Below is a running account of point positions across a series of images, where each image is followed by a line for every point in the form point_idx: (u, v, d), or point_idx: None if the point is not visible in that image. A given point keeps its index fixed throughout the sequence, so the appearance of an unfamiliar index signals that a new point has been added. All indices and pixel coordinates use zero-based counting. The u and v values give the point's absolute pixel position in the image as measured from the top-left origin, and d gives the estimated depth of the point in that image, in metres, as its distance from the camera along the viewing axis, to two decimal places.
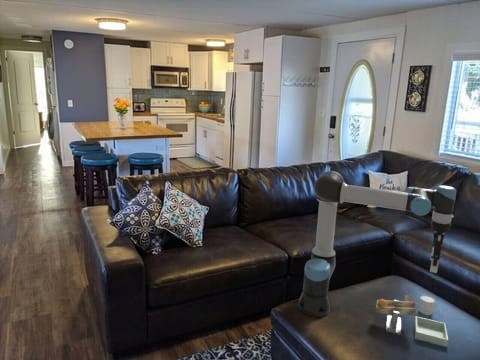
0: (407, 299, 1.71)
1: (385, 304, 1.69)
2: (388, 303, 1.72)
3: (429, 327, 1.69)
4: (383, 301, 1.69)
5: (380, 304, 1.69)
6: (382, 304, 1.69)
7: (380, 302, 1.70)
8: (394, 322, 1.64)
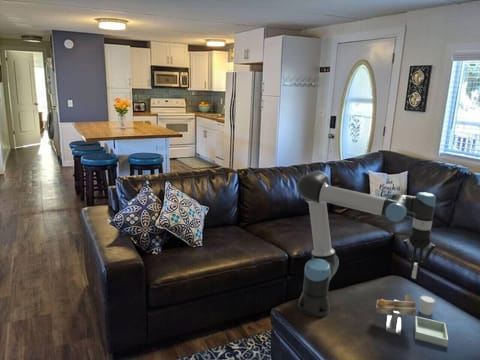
0: (407, 299, 1.71)
1: (385, 304, 1.69)
2: (388, 303, 1.72)
3: (429, 327, 1.69)
4: (383, 301, 1.69)
5: (380, 304, 1.69)
6: (382, 304, 1.69)
7: (380, 302, 1.70)
8: (394, 322, 1.64)
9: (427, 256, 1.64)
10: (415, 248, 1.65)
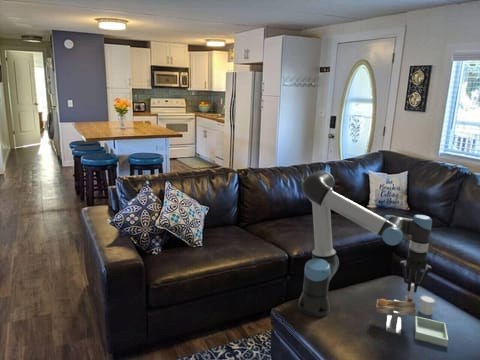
0: (408, 300, 1.71)
1: (385, 304, 1.69)
2: (388, 303, 1.72)
3: (429, 327, 1.69)
4: (383, 301, 1.69)
5: (380, 303, 1.69)
6: (382, 304, 1.69)
7: (380, 302, 1.69)
8: (394, 322, 1.64)
9: (424, 278, 1.67)
10: (412, 270, 1.67)
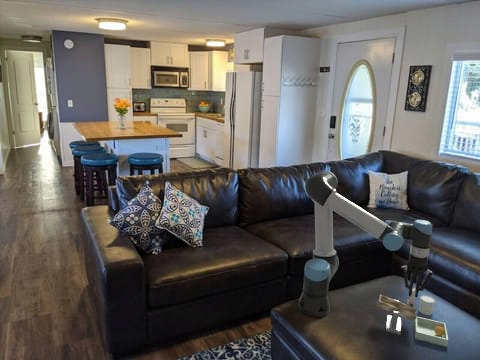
0: (409, 304, 1.71)
1: (443, 332, 1.61)
2: (390, 301, 1.72)
3: (429, 327, 1.69)
4: (440, 329, 1.62)
5: (437, 332, 1.62)
6: (439, 332, 1.61)
7: (437, 330, 1.62)
8: (394, 322, 1.64)
9: (425, 282, 1.67)
10: (413, 275, 1.68)
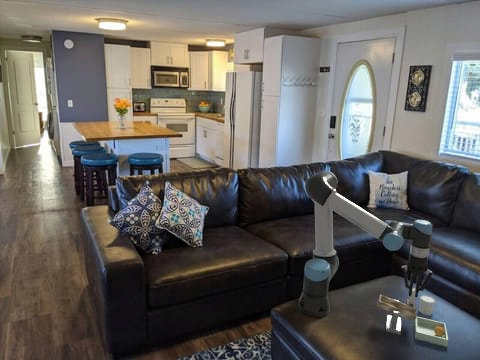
0: (409, 304, 1.71)
1: (442, 332, 1.61)
2: (390, 301, 1.72)
3: (429, 327, 1.69)
4: (440, 329, 1.62)
5: (437, 332, 1.62)
6: (439, 332, 1.61)
7: (437, 330, 1.62)
8: (394, 322, 1.64)
9: (425, 282, 1.67)
10: (413, 275, 1.68)
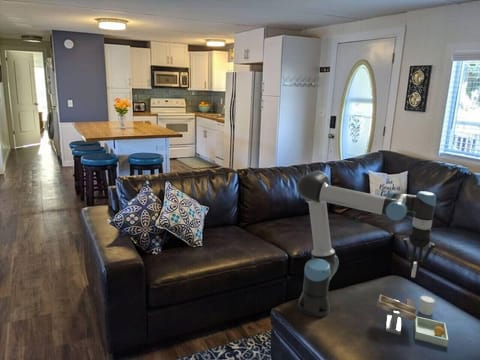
0: (409, 304, 1.71)
1: (442, 332, 1.61)
2: (390, 301, 1.72)
3: (429, 327, 1.69)
4: (439, 329, 1.62)
5: (436, 332, 1.62)
6: (439, 332, 1.61)
7: (436, 330, 1.62)
8: (394, 322, 1.64)
9: (427, 255, 1.64)
10: (415, 247, 1.65)
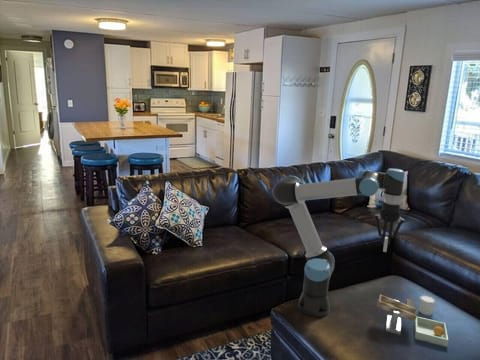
0: (409, 304, 1.71)
1: (441, 331, 1.61)
2: (390, 301, 1.72)
3: (429, 327, 1.69)
4: (438, 328, 1.62)
5: (436, 332, 1.62)
6: (438, 332, 1.62)
7: (435, 330, 1.62)
8: (394, 322, 1.64)
9: (397, 230, 1.71)
10: (385, 222, 1.72)
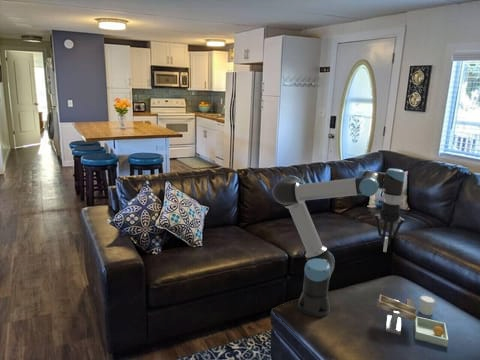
0: (409, 304, 1.71)
1: (441, 331, 1.61)
2: (390, 301, 1.72)
3: (429, 327, 1.69)
4: (438, 328, 1.62)
5: (435, 332, 1.62)
6: (438, 332, 1.62)
7: (435, 330, 1.62)
8: (394, 322, 1.64)
9: (397, 230, 1.71)
10: (385, 222, 1.72)
